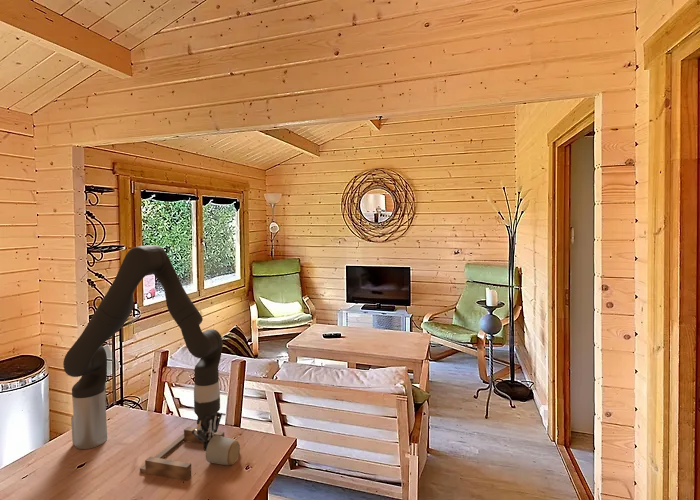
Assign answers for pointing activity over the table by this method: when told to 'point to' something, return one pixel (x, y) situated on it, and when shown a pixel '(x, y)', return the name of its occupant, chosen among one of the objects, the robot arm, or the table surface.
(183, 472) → the cradle
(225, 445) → the ceramic mug
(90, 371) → the robot arm
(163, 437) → the table surface
